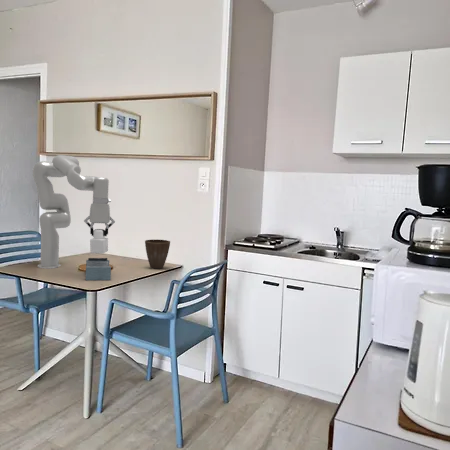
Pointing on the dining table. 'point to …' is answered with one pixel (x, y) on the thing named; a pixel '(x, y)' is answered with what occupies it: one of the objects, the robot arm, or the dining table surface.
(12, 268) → the dining table surface
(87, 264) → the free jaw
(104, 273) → the base
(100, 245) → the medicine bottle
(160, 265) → the plant pot
